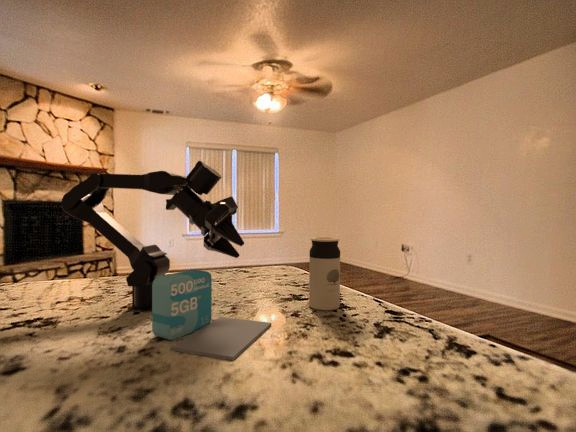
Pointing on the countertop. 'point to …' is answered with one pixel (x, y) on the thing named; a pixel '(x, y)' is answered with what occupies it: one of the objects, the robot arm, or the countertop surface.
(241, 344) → the mat
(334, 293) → the travel mug
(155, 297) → the data package
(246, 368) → the countertop surface
